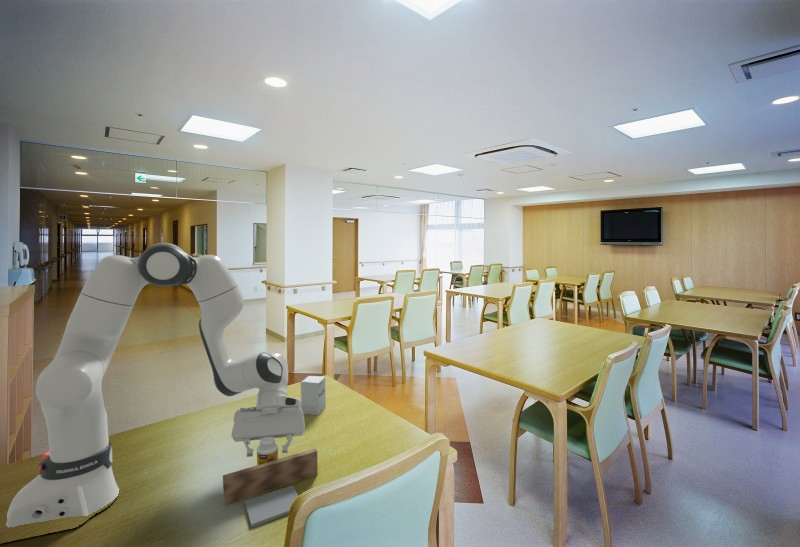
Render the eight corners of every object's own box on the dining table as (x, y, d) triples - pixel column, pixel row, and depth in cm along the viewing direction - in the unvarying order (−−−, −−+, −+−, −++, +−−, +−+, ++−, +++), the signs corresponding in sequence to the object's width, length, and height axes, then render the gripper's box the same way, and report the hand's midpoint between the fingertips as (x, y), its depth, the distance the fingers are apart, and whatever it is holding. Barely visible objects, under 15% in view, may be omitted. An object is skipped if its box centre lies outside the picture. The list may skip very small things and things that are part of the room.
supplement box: (318, 415, 141) (318, 383, 140) (300, 413, 143) (299, 381, 142) (326, 407, 149) (325, 376, 148) (309, 405, 150) (308, 375, 149)
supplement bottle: (256, 482, 102) (255, 446, 101) (259, 470, 107) (258, 436, 106) (277, 479, 103) (276, 443, 102) (279, 467, 108) (278, 433, 108)
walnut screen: (224, 505, 93) (223, 478, 92) (223, 501, 94) (222, 475, 94) (317, 474, 105) (317, 450, 105) (315, 471, 106) (315, 448, 106)
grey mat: (251, 527, 86) (251, 524, 85) (245, 504, 93) (245, 501, 93) (303, 508, 92) (302, 505, 92) (293, 488, 99) (293, 485, 99)
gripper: (233, 404, 109) (225, 455, 100) (305, 399, 113) (303, 447, 104) (237, 412, 113) (230, 461, 105) (306, 407, 117) (304, 453, 109)
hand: (267, 454), depth 104 cm, fingers open, 8 cm apart
